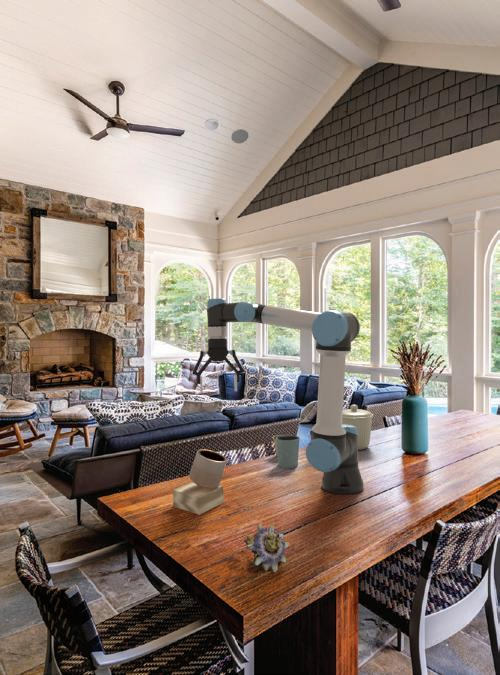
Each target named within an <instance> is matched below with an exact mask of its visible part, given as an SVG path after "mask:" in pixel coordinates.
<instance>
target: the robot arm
mask: <svg viewBox="0 0 500 675" xmlns="http://www.w3.org/2000/svg"><path fill="white" fill-rule="evenodd" d="M206 305H207V307H206V316H207V338H208V339H207V351H206V350H200V351H199V352H200V354H199V358H198V359H197V361H196V364H195V366H194V368H193V370H192V375H195V376H196V383H197V385H199V386H200V387H199V388H200V390H199V391H200V394H202V393H203V375H202V373H204V371H205V370H206V369H207V368H208V366H209V365H210V363H212V362H215V363H217V362H225V363H226V364H227V365H228V366H229V367H230V368H231V369H232V370H233V372H235V374H233V375H234V376H233V379H234V380H233V381H234V383H233V385H234V392H238V383H240V381H241V379H240V378H241V377H240V375H241V374H243V373H244V372H245V370H244V368H243V366H242V364H241V362H240V361H239V359H238V357H237V354H236V350H235V349H231V350H228V339H227V338H226V337H228V329H227V326H228V324H227V323H256V324H264V325H269V326H275V327H281V328H287V329H292V330H299V331H303V332H310V333H311V335H312V337H313V339H314V340H315V351H316V352H317V353H318V354H319V365H318V366H319V368H318V385H317V386H318V389H317V390H318V391H317V407H316V423H315V424H314V425H313V426H312V427H311V436H310V441H309V442H308V443H307V445H306V447H305V458H306V460H307V462H308V463H309V464H310V466H311V467H312V468H313V469H314V470H317V471H318V472H321V473H323V475H322V478H321V488H322V490H324V491H327V492H330V493H333V494H336V495H337V494H339V495H351V494H352V495H353V494H358V493H361V492H362V491H363V490H364V488H365V487H364V480H363V478H362V474H361V471H360V468H359V450H358V434H357V428H356V427H355V426H352V425H345V424H342V415H343V410H344V398H345V397H344V396H345V395H344V394H345V377H346V376H345V374H346V360H347V359H346V357H347V356H348V354H350V353H351V350H352V342H353V341H355V339H357V337H358V335H359V334H360V332H361V330H360V328H361V325H360V321H359V319H358V318H357V317H356V315H355V314H353V313H352V312H349V311H345V310H337V309H336V310H335V309H330V310H325V311H323V312H315V311H310V310H309V311H308V310H301V309H295V308H288V307H281V306H273V305H267V304H262V303H252V302H249V301H238V302H227V300H226V298H209V299H208V300H207V303H206ZM206 355H207V356H208V357H209V358H208V359H207V360H206V362H204V364H203V365H202V367H201V368H200V370H198V369H199V367H200V365H201V363H202V361H203V358H204V357H205V356H206ZM228 355H231V356H232V359H233V360H234V362H235V364H236V365H237V367H238V369H237V368H236V367H235V365H234V364H233V363H232V362H231V361H230V360H229V359H228V358H227V356H228Z"/></svg>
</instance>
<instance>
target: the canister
mask: <svg viewBox="0 0 500 675" xmlns="http://www.w3.org/2000/svg"><path fill="white" fill-rule="evenodd" d="M373 417H374V414H373V413H372V412H371V411H369V410H365V409H361V408H360V409H359V407H358V405H357V404H351V405H350V406H349V408H348V409H347V408H345V409H343V415H342V424H345V425H352V426H355V427H356V428H357V434H358V451H361V450H365V449H367V448H368V447H369V445H370V442H371V441H370V440H371V434H372V423H373V422H372V421H373V420H372V419H373Z"/></svg>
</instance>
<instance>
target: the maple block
mask: <svg viewBox="0 0 500 675" xmlns="http://www.w3.org/2000/svg"><path fill="white" fill-rule="evenodd" d="M224 496H225V495H224V485H221V484H220V485H219V486H218V487H217V488H204V487H201V486H199V485H196V484H195V483H193V482H192V481H191V482H188V483H186V484H184V485H181V486H178V487H176V488H173V490H172V502H173V503H172V504H173V505H172V506H173V508H177V509H180V510H182V511H183V510H184V511H186V512H188V513H193V514H196V515H199V516H200V515H202V514H204V513H205V512H208V511H210V510H212V509H213V508H216V507H217V506H220V505H221V504H223V503H224V502H225V501H224V500H225V498H224Z"/></svg>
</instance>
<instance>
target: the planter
mask: <svg viewBox="0 0 500 675" xmlns="http://www.w3.org/2000/svg"><path fill="white" fill-rule="evenodd" d="M227 462H228V458H227V457H226V456H225V455H223V454H221V453H219V452H217V451H214V450H211V449H206V448H200V449H198V450H196V454H195V456H194V460H193V463H192V466H191V468H190V471H189V475H188V477H189V480H190V481H191V482H193V483H195V484H196V485H199V486H201V487H204V488H217V487H218V486H219V485H221V481H222V479H223V475H224V471H225V468H226V464H227Z"/></svg>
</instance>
